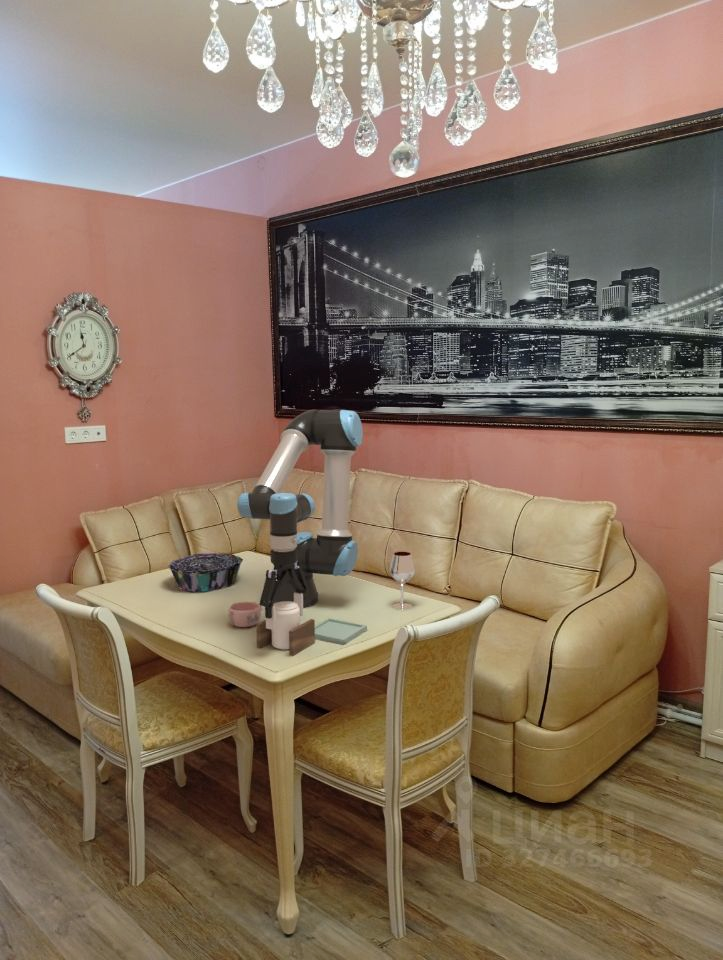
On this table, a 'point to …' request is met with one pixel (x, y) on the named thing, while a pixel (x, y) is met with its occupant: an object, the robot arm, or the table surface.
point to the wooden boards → (297, 636)
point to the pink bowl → (244, 614)
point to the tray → (338, 631)
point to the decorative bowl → (205, 571)
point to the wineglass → (402, 574)
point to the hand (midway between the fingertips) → (285, 621)
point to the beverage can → (284, 623)
